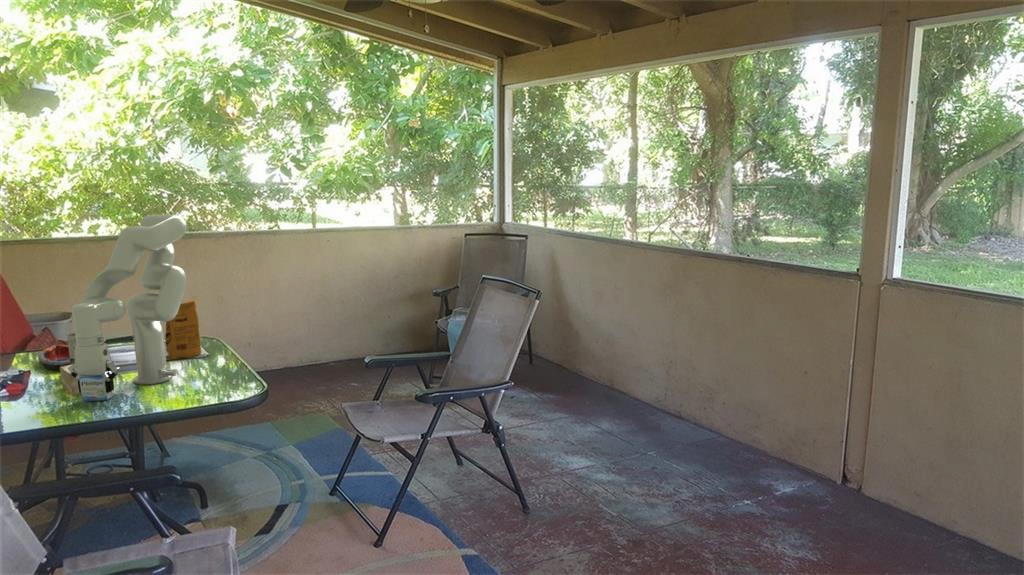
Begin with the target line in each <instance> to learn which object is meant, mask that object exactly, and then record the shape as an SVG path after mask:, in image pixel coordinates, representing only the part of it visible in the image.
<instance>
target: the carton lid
mask: <svg viewBox="0 0 1024 575" xmlns="http://www.w3.org/2000/svg"><path fill="white" fill-rule="evenodd" d="M70 366H71V365H68V366H63V367H60V369H61V370H63V371H65V372H66V373H68V374H70V375H71V373H70V371H69V370H68V367H70ZM75 370H76V368H75Z"/></svg>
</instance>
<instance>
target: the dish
mask: <svg viewBox="0 0 1024 575" xmlns="http://www.w3.org/2000/svg"><path fill="white" fill-rule="evenodd" d="M37 358H38V361H39V362H40V364H41V365H42V366H43V367H44V368H46V369H49V370H52V371H53V370H54V371H60V367H63V366H68V365H70V356H69V347H68V344H54V345H52V346H49V347H47V348H45V349H43V350H41V351H40V352H39V353H38V355H37Z"/></svg>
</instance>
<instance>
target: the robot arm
mask: <svg viewBox="0 0 1024 575" xmlns="http://www.w3.org/2000/svg"><path fill="white" fill-rule="evenodd" d="M187 227H188V226H187V222H186V220H185V219H184V218H183V217H182V216H180V215H176V214H148V215H145V216H144V217H143V218H142V219H140V225H139V226H136V225H135V226H134V225H132V226H127V227H125V228H123V229H122V230H121V231H120V232H119V236H118V238H117V240H116V242H115V243H116V244H115V246H114V249H113V251H112V254H111V256H110V259H109V262H108V264H107V265H106V266H105V268H104V269H102V270H101V271H100V272H99V273H98V274H97V275H96V276H95V277H94V278H93V279H92V281H91V282H90V283H89V285H88V286H87V288H86V290H85V293H84V295H83V298H82V302H81V303H76V304H74V305H73V306H72V307H71V316H72V322H73V323H72V324H73V329H74V333H75V337H76V344H77V345H76V346H75V363H74V364H73V365H71V366H70V367H68V370H69V371H70V373H71V375H72V376H73V377H74V378H75V380H76V381H78V388H79V392H80V393H81V387H80V380H79V377H80V376H81V375H102V376H103V377H104V378H105V380H106V381H105V388H106V392H107V393H109V392H111V391H112V392H113V391H114V390H115V384H114V379H115V378H116V376H117V375H118V373H119V371H120V367H119V366H118V365H116V364H114V363H113V362H112V357H111V353H110V350H109V347H108V345H107V343H106V340H107V339H106V337H105V336H103V330H102V329H103V328H102V323H109V322H110V323H111V322H115V321H118V320H119V321H120V320H121V319H122V318H123V317H124V316H125V315H126V313H128V317H129V320H130V324H131V328H132V334H133V343H134V351H135V352H134V353H135V361H136V373H137V375H136V376H135V377H133V379H132V381H133V384H135V385H148V386H149V385H155V384H161V383H165V382H168V381H169V380H171V379H173V377H176V376H177V374H178V370H177V369H174V368H173V369H171V366H170V365H167V357H166V344H165V337H164V329H163V327H162V326H163V325H162V323H166V322H168V321H171V320H172V319H174V317H175V316H176V315H177V313H178V310H179V307H180V304H182V299H183V297H184V294H185V290H186V287H187V274H186V272H185V270H184V269H183V268H182V267H180V266H178V265H174V261H175V253H176V251H175V247H174V245H173V243H175V242H176V241H179V240H180V239H181V238H183V237H184V236H185V234H186V232H187ZM144 252H148V253H147V257H146V261H145V263H144V267H143V269H142V274H141V277H140V284H141V287H143V288H144V289H145V290H148V291H153V292H159V293H152V292H151V293H149V292H141V293H140V292H139V293H137V294H134V295H132V296H131V297H130V298H129V299H128V302H127V305H126V304H125V303H124V302H123V301H122V300H120V299H117V298H110V297H106V296H107V295H108V293H109V292H110V290H111V289H113V287H115V286H117V285H118V284H119V283H121V282H123V281H125V280H127V279H129V278H131V277H133V276H134V275H135V274H136V271H137V269H138V267H139V263H140V261H141V257H142V255H143V254H144ZM75 368H76V370H75Z"/></svg>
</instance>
